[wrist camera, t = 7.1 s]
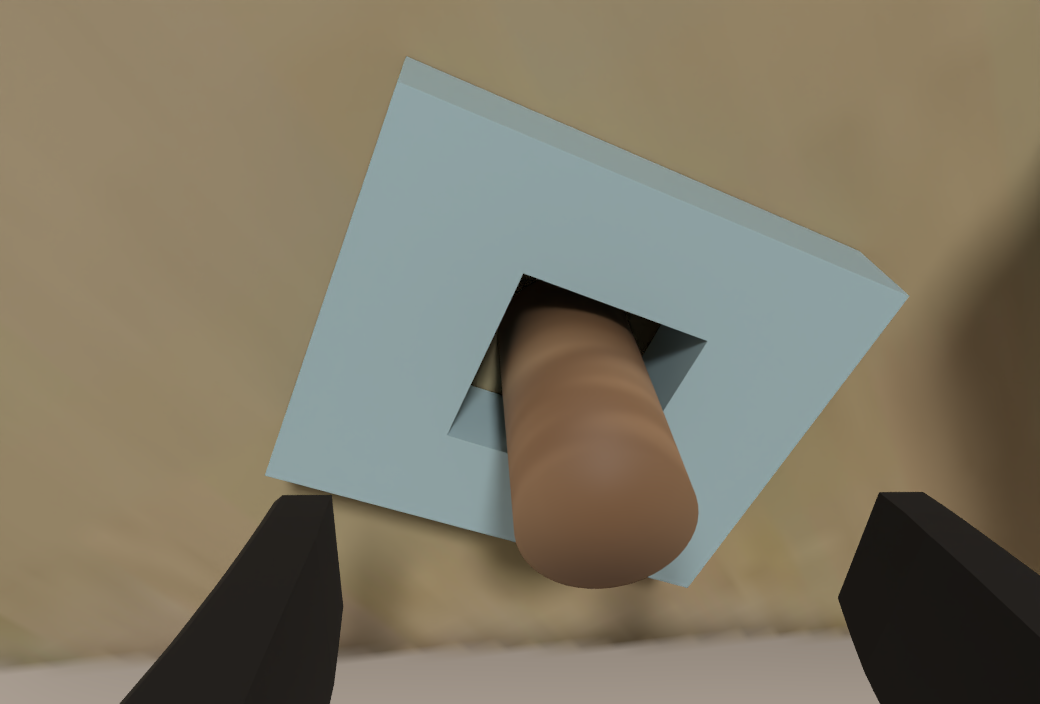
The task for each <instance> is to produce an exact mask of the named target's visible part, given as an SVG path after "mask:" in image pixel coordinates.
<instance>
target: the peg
mask: <svg viewBox="0 0 1040 704" xmlns="http://www.w3.org/2000/svg"><path fill="white" fill-rule="evenodd" d="M498 344H499V357H500V369H501V381H502V393H503V405H504V417H505V429H506V441H507V453H508V465H509V477H510V489H511V501H512V513H513V525H514V536H515V540H516V544H517V547H518V549H519V551H520V553H521V555H522V556H523V558H524V559H525V561H526V562H527V563H528V564H529V565H530V566H531V567H532V568H533V569H535V570H536V571H537V572H538V573H540V574H542V575H543V576H545V577H546V578H549V579H551V580H553V581H555V582H558V583H561V584H564V585H568V586H573V587H578V588H587V589H601V588H612V587H618V586H623V585H627V584H630V583H634V582H637V581H639V580H642V579H644V578H647V577H649V576H651V575H653V574H655V573H656V572H658V571H660V570H662V569H663V568H664V567H666V566H667V565H669V564H670V563H671V562H672V561H673V560H675V559H676V558H677V557H678V556H679V555H680V554H681V552H682V551H683V550H684V549H685V548H686V546H687V545H688V543H689V542H690V540H691V538H692V536H693V534H694V532H695V529H696V526H697V522H698V514H699V511H698V502H697V498H696V494H695V492H694V489H693V487H692V484H691V482H690V479H689V476H688V474H687V471H686V469H685V466H684V464H683V461H682V458H681V456H680V453H679V451H678V448H677V446H676V443H675V441H674V438H673V435H672V433H671V430H670V428H669V425H668V423H667V420H666V417H665V415H664V412H663V410H662V407H661V405H660V402H659V400H658V397H657V394H656V392H655V389H654V387H653V384H652V382H651V379H650V376H649V374H648V371H647V369H646V366H645V364H644V361H643V359H642V356H641V353H640V351H639V348H638V346H637V343H636V341H635V338H634V336H633V333H632V330H631V328H630V325H629V323H628V320H627V318H626V315H625V312H624V310H622V309H619V308H616V307H614V306H611V305H608V304H605V303H603V302H600V301H597V300H595V299H592V298H589V297H586V296H584V295H581V294H578V293H575V292H573V291H570V290H567V289H565V288H562V287H559V286H556V285H554V284H551V283H548V282H546V281H543V280H539V281H537V282H534V283H532V284H531V285H529V286H527V287H525V288H524V289H523V290H521V291H520V292H519V293H518V294H517V295H516V296H515V297H514V298H513V299H512V300H511V301H510V303H509V305H508V307H507V309H506V311H505V313H504V315H503V317H502V320H501V322H500V324H499V327H498Z"/></svg>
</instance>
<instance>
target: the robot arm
mask: <svg viewBox="0 0 1040 704" xmlns="http://www.w3.org/2000/svg"><path fill="white" fill-rule="evenodd" d="M838 600H839V603H840V606H841V609H842V612H843V614H844V617H845V620H846V623H847V626H848V629H849V632H850V635H851V638H852V641H853V643H854V646H855V649H856V651H857V654H858V657H859V659H860V662H861V664H862V667H863V670H864V672H865V674H866V676H867V678H868V680H869V682H870V684H871V687H872V689H873V691H874V693H875V695H876V697H877V698H878V701H879V703H880V704H1040V575H1038V574H1037V573H1036V572H1034V571H1033V570H1031V569H1030V568H1029V567H1027V566H1026V565H1025V564H1023V563H1022V562H1021V561H1019V560H1018V559H1017V558H1015V557H1014V556H1012V555H1011V554H1010V553H1008V552H1007V551H1006V550H1004V549H1003V548H1002V547H1000V546H999V545H997V544H996V543H995V542H993V541H992V540H991V539H989V538H988V537H987V536H985V535H984V534H982V533H981V532H980V531H978V530H977V529H976V528H974V527H973V526H971V525H970V524H969V523H967V522H966V521H965V520H963V519H962V518H960V517H959V516H958V515H956V514H955V513H953V512H952V511H950V510H949V509H948V508H946V507H945V506H943V505H942V504H940V503H939V502H937V501H936V500H934V499H933V498H931V497H930V496H928V495H927V494H925V493H923V492H879V494H878V497H877V499H876V502H875V504H874V507H873V510H872V512H871V515H870V517H869V520H868V522H867V525H866V527H865V530H864V533H863V535H862V538H861V540H860V543H859V545H858V548H857V550H856V553H855V555H854V558H853V561H852V563H851V566H850V568H849V571H848V573H847V576H846V578H845V581H844V584H843V586H842V589H841V591H840V594H839V596H838ZM342 612H343V600H342V590H341V581H340V571H339V562H338V552H337V542H336V533H335V523H334V514H333V504H332V495H282V496H281V497H280V498H279V499H278V500H276V501H275V502H274V503H273V505H272V506H271V508H270V510H269V511H268V513H267V514H266V516H265V517H264V519H263V520H262V522H261V523H260V525H259V526H258V528H257V529H256V530H255V532H254V533H253V535H252V536H251V538H250V539H249V541H248V542H247V544H246V545H245V546H244V548H243V549H242V551H241V552H240V553H239V555H238V556H237V558H236V559H235V560H234V562H233V563H232V565H231V566H230V567H229V569H228V570H227V571H226V573H225V574H224V576H223V577H222V578H221V580H220V581H219V582H218V584H217V585H216V586H215V588H214V589H213V590H212V592H211V593H210V594H209V595H208V597H207V598H206V599H205V601H204V602H203V603H202V604H201V606H200V607H199V608H198V610H197V611H196V612H195V613H194V615H193V616H192V617H191V619H190V620H189V621H188V622H187V624H186V625H185V626H184V628H183V629H182V630H181V631H180V633H179V634H178V635H177V637H176V638H175V639H174V640H173V641H172V643H171V644H170V645H169V646H168V648H167V649H166V650H165V651H164V652H163V654H162V655H161V656H160V657H159V658H158V659H157V661H156V662H155V663H154V664H153V665H152V666H151V668H150V669H149V670H148V671H147V672H146V673H145V675H144V676H143V677H142V678H141V679H140V680H139V682H138V683H137V684H136V685H135V686H134V687H133V689H132V690H131V691H130V692H129V693H128V694H127V696H126V697H125V698H124V699H123V700H122V702H121V703H120V704H330V700H331V695H332V690H333V686H334V679H335V671H336V663H337V655H338V647H339V638H340V630H341V621H342Z"/></svg>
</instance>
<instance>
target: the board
mask: <svg viewBox="0 0 1040 704" xmlns="http://www.w3.org/2000/svg"><path fill="white" fill-rule="evenodd" d="M523 273H524V274H526V275H529V276H532V277H535V278H537V279H540V280H543V281H546V282H548V283H551V284H554V285H556V286H559V287H562V288H565V289H567V290H570V291H573V292H575V293H578V294H581V295H584V296H586V297H589V298H592V299H595V300H597V301H600V302H603V303H605V304H608V305H611V306H614V307H616V308H619V309H622V310H624V311H627V312H630V313H633V314H635V315H638V316H641V317H643V318H646V319H649V320H652V321H654V322H657V323H660V324H661V326H660V327H659V329H658V331H657V332H656V334H655V336H654V338H653V339H652V341H651V343H650V344H649V346H648V348H647V349H646V351H645V353H644V354H643V356H642V359H643V361H644V364H645V366H646V369H647V371H648V374H649V376H650V379H651V382H652V384H653V387H654V389H655V392H656V394H657V397H658V400H659V402H660V405H661V407H662V410H663V412H664V415H665V417H666V420H667V423H668V425H669V428H670V430H671V433H672V435H673V438H674V441H675V443H676V446H677V448H678V451H679V453H680V456H681V458H682V461H683V464H684V466H685V469H686V471H687V474H688V476H689V479H690V482H691V484H692V487H693V489H694V492H695V494H696V498H697V502H698V511H699V514H698V522H697V526H696V529H695V532H694V534H693V536H692V538H691V540H690V542H689V543H688V545H687V546H686V548H685V549H684V550H683V551H682V552H681V554H680V555H679V556H678V557H677V558H676V559H675V560H673V561H672V562H671V563H670V564H669V565H667V566H666V567H664V568H663V569H662V570H660V571H658V572H656V573H655V574H653V575H651V576H649V577H648V578H652V579H656V580H660V581H664V582H667V583H671V584H675V585H679V586H682V587H686V588H688V586H689V585H690V584H691V583H692V581H693V580H694V579H695V577H696V576H697V575H698V573H699V572H700V571H701V569H702V568H703V567H704V565H705V564H706V563H707V561H708V560H709V559H710V558H711V556H712V555H713V554H714V552H715V551H716V550H717V548H718V547H719V546H720V544H721V543H722V542H723V540H724V539H725V538H726V536H727V535H728V534H729V533H730V531H731V530H732V529H733V527H734V526H735V525H736V523H737V522H738V521H739V519H740V518H741V517H742V515H743V514H744V513H745V511H746V510H747V509H748V508H749V506H750V505H751V504H752V502H753V501H754V500H755V498H756V497H757V496H758V494H759V493H760V492H761V490H762V489H763V488H764V486H765V485H766V484H767V483H768V481H769V480H770V479H771V477H772V476H773V475H774V473H775V472H776V471H777V469H778V468H779V467H780V465H781V464H782V463H783V461H784V460H785V459H786V458H787V456H788V455H789V454H790V452H791V451H792V450H793V448H794V447H795V446H796V444H797V443H798V442H799V440H800V439H801V438H802V436H803V435H804V434H805V433H806V431H807V430H808V429H809V427H810V426H811V425H812V423H813V422H814V421H815V419H816V418H817V417H818V415H819V414H820V413H821V411H822V410H823V409H824V408H825V406H826V405H827V404H828V402H829V401H830V400H831V398H832V397H833V396H834V394H835V393H836V392H837V390H838V389H839V388H840V387H841V385H842V384H843V383H844V381H845V380H846V379H847V377H848V376H849V375H850V373H851V372H852V371H853V369H854V368H855V367H856V365H857V364H858V363H859V362H860V360H861V359H862V358H863V356H864V355H865V354H866V352H867V351H868V350H869V348H870V347H871V346H872V344H873V343H874V342H875V340H876V339H877V338H878V337H879V335H880V334H881V333H882V331H883V330H884V329H885V327H886V326H887V325H888V323H889V322H890V321H891V319H892V318H893V317H894V315H895V314H896V313H897V312H898V310H899V309H900V308H901V306H902V305H903V304H904V302H905V301H906V300H907V298H908V297H909V295H908V294H907V293H905V292H904V291H903V290H902V289H901V288H900V287H899V286H898V285H897V284H895V283H894V282H893V281H892V280H891V279H890V278H889V277H888V276H887V275H885V274H884V273H883V272H882V271H881V270H880V269H879V268H878V267H876V266H875V265H874V264H873V263H872V262H871V261H870V260H869V259H868V258H866V257H865V256H864V255H863V254H862V253H861V252H860V251H858V250H856V249H853V248H851V247H849V246H846V245H844V244H842V243H839V242H837V241H835V240H832V239H830V238H828V237H825V236H823V235H821V234H818V233H816V232H814V231H811V230H809V229H807V228H804V227H802V226H800V225H798V224H795V223H793V222H791V221H788V220H786V219H784V218H781V217H779V216H777V215H774V214H772V213H770V212H767V211H765V210H763V209H760V208H758V207H756V206H753V205H751V204H749V203H746V202H744V201H742V200H739V199H737V198H735V197H732V196H730V195H728V194H725V193H723V192H721V191H718V190H716V189H714V188H711V187H709V186H707V185H705V184H702V183H700V182H698V181H695V180H693V179H691V178H688V177H686V176H684V175H681V174H679V173H677V172H674V171H672V170H670V169H667V168H665V167H663V166H660V165H658V164H656V163H653V162H651V161H649V160H646V159H644V158H642V157H639V156H637V155H635V154H632V153H630V152H628V151H625V150H623V149H621V148H618V147H616V146H614V145H612V144H609V143H607V142H605V141H602V140H600V139H598V138H595V137H593V136H591V135H588V134H586V133H584V132H581V131H579V130H577V129H574V128H572V127H570V126H567V125H565V124H563V123H560V122H558V121H556V120H553V119H551V118H549V117H546V116H544V115H542V114H539V113H537V112H535V111H532V110H530V109H528V108H526V107H523V106H521V105H519V104H516V103H514V102H512V101H509V100H507V99H505V98H502V97H500V96H498V95H495V94H493V93H491V92H488V91H486V90H484V89H481V88H479V87H477V86H474V85H472V84H470V83H467V82H465V81H463V80H460V79H458V78H456V77H453V76H451V75H449V74H446V73H444V72H442V71H439V70H437V69H435V68H433V67H430V66H428V65H426V64H423V63H421V62H419V61H416V60H414V59H412V58H409V57H407V56H406V59H405V61H404V64H403V67H402V70H401V73H400V76H399V79H398V81H397V84H396V87H395V90H394V93H393V96H392V99H391V102H390V105H389V108H388V111H387V114H386V117H385V120H384V123H383V126H382V129H381V132H380V135H379V138H378V141H377V144H376V147H375V150H374V153H373V156H372V159H371V162H370V165H369V168H368V171H367V174H366V177H365V180H364V183H363V186H362V188H361V191H360V194H359V197H358V200H357V203H356V206H355V209H354V212H353V215H352V218H351V221H350V224H349V227H348V230H347V233H346V236H345V239H344V242H343V245H342V248H341V251H340V254H339V257H338V260H337V263H336V266H335V269H334V272H333V275H332V278H331V281H330V284H329V287H328V290H327V293H326V296H325V298H324V301H323V304H322V307H321V310H320V313H319V316H318V319H317V322H316V325H315V328H314V331H313V334H312V337H311V340H310V343H309V346H308V349H307V352H306V355H305V358H304V361H303V364H302V367H301V370H300V373H299V376H298V379H297V382H296V385H295V388H294V391H293V394H292V397H291V400H290V403H289V406H288V408H287V411H286V414H285V417H284V420H283V423H282V426H281V429H280V432H279V435H278V438H277V441H276V444H275V447H274V450H273V453H272V456H271V459H270V462H269V465H268V468H267V471H266V474H265V476H269V477H273V478H276V479H280V480H284V481H288V482H291V483H295V484H299V485H303V486H306V487H310V488H314V489H318V490H321V491H325V492H329V493H333V494H336V495H340V496H344V497H348V498H352V499H355V500H359V501H363V502H367V503H370V504H374V505H378V506H382V507H385V508H389V509H393V510H397V511H400V512H404V513H408V514H412V515H415V516H419V517H423V518H427V519H430V520H434V521H438V522H442V523H446V524H449V525H453V526H457V527H461V528H464V529H468V530H472V531H476V532H479V533H483V534H487V535H491V536H494V537H498V538H502V539H506V540H509V541H513V542H516V540H515V536H514V525H513V513H512V501H511V489H510V477H509V465H508V453H507V441H506V429H505V417H504V405H503V395H499V394H496V393H493V392H490V391H487V390H484V389H481V388H477V387H474V386H471V383H472V381H473V379H474V377H475V375H476V373H477V370H478V368H479V366H480V364H481V362H482V360H483V358H484V356H485V353H486V351H487V349H488V347H489V345H490V343H491V341H492V339H493V337H494V334H495V332H496V330H497V328H498V326H499V324H500V322H501V320H502V317H503V315H504V313H505V311H506V309H507V307H508V305H509V303H510V301H511V298H512V296H513V294H514V292H515V290H516V288H517V286H518V284H519V281H520V279H521V277H522V275H523Z"/></svg>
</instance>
